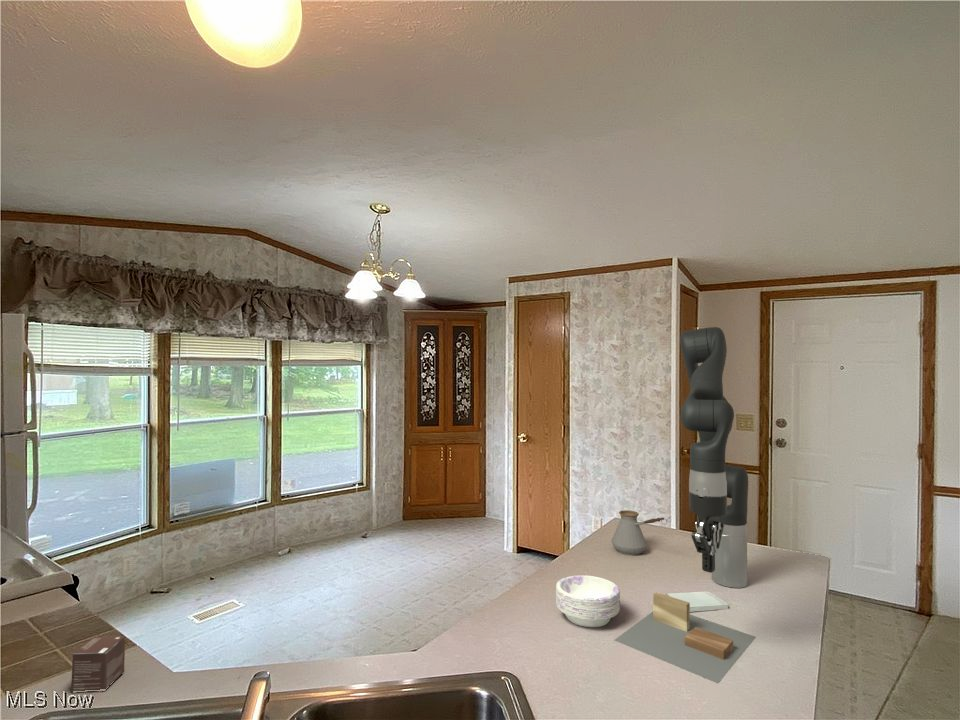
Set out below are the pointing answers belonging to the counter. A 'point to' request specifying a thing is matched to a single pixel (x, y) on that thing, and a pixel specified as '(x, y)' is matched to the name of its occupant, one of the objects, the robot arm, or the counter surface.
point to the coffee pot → (630, 533)
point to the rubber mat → (673, 650)
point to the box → (98, 663)
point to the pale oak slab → (671, 611)
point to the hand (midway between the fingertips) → (708, 570)
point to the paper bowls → (588, 600)
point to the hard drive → (701, 601)
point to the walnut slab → (709, 643)
